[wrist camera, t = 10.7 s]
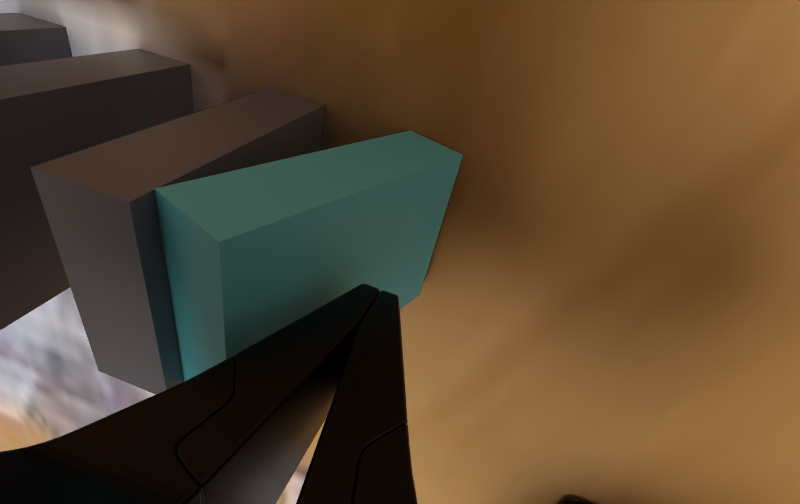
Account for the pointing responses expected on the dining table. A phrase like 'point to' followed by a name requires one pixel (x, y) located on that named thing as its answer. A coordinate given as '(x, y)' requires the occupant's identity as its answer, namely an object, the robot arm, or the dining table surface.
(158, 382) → the domino
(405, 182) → the domino
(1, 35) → the domino
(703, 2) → the dining table surface
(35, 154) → the domino
